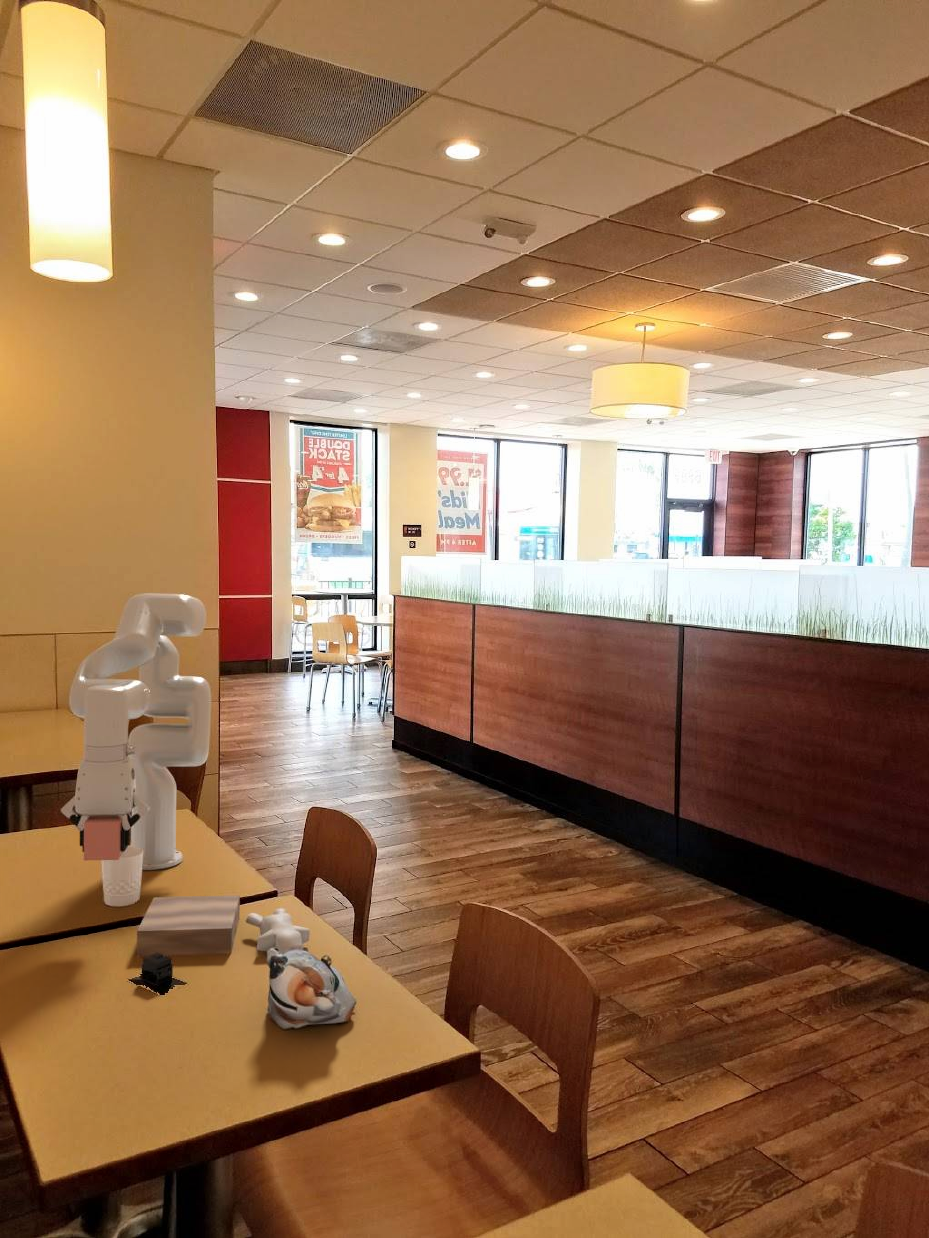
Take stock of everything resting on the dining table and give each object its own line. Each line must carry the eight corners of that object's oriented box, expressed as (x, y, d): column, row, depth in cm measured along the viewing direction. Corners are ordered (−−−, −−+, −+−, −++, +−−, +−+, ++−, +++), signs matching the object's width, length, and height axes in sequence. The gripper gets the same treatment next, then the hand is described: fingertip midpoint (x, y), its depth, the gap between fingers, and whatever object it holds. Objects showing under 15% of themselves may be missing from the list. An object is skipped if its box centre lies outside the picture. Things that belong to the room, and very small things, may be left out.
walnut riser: (153, 922, 177) (153, 897, 176) (239, 920, 179) (239, 895, 179) (136, 958, 161) (137, 930, 161) (231, 955, 163) (231, 928, 163)
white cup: (149, 895, 190) (149, 847, 189) (131, 909, 182) (132, 859, 181) (112, 892, 190) (113, 844, 190) (93, 906, 183) (93, 857, 182)
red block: (92, 849, 173) (92, 813, 172) (125, 849, 174) (126, 812, 173) (83, 860, 167) (84, 822, 166) (118, 859, 168) (118, 822, 167)
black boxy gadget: (199, 987, 151) (199, 960, 151) (162, 1004, 145) (162, 976, 145) (150, 967, 158) (151, 941, 158) (113, 982, 152) (113, 955, 152)
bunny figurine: (266, 944, 158) (241, 905, 171) (265, 971, 159) (239, 930, 172) (318, 934, 163) (290, 896, 176) (316, 961, 164) (288, 921, 177)
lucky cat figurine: (373, 1013, 143) (367, 955, 136) (314, 1069, 136) (304, 1011, 128) (309, 959, 151) (300, 902, 144) (250, 1009, 144) (237, 952, 136)
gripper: (158, 748, 174) (157, 842, 175) (62, 748, 172) (62, 843, 173) (150, 757, 167) (149, 855, 168) (50, 757, 164) (49, 856, 165)
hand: (105, 848), depth 170 cm, fingers closed on red block, 6 cm apart
